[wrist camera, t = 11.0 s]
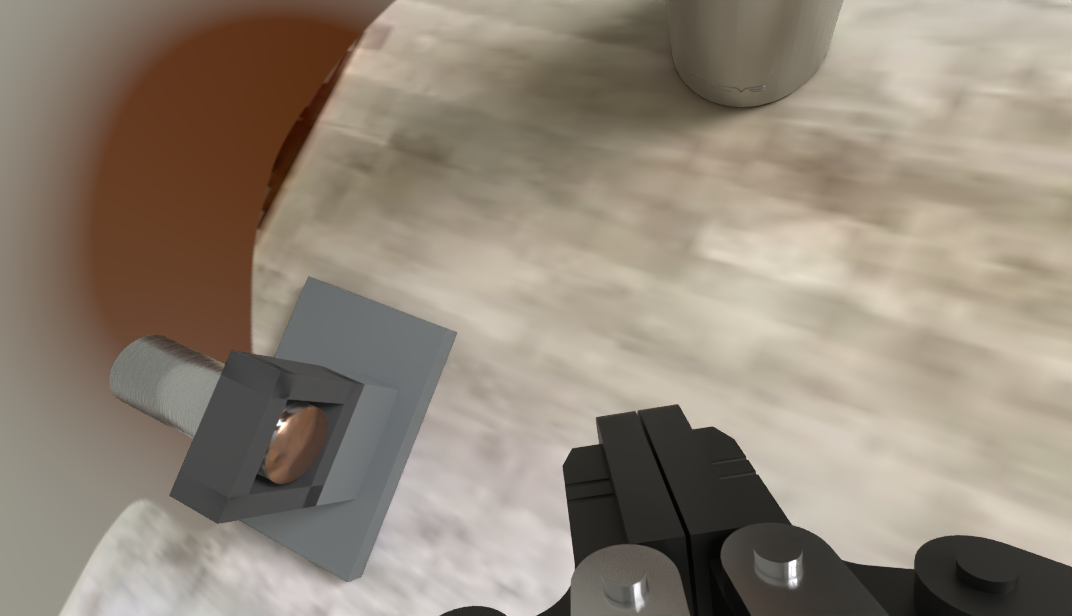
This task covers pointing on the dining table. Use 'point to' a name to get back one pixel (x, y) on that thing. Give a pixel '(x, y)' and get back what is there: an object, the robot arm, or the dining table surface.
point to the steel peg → (184, 393)
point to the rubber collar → (260, 437)
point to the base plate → (359, 418)
